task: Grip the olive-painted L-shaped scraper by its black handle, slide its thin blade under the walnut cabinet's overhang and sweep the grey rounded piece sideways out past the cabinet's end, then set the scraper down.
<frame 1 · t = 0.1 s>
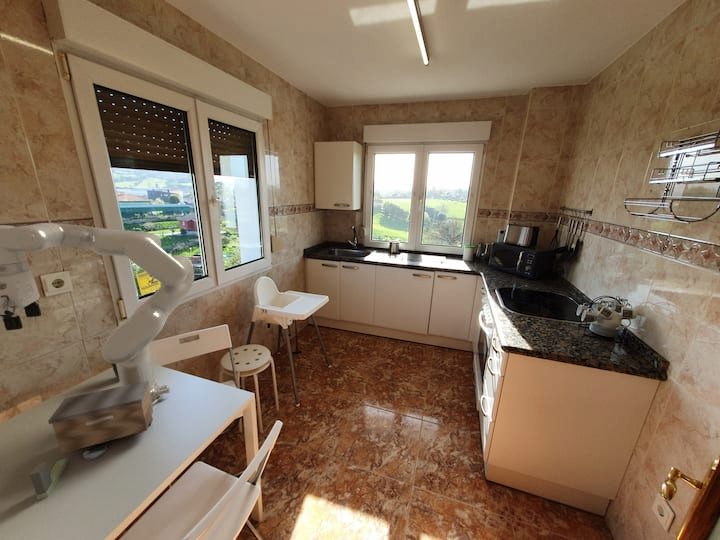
hand: (25, 322, 85), 37 cm above the table, tool pointing down, fingers open, 9 cm apart
scraper tool: (46, 493, 72), on the table
grey rounded piece: (95, 454, 83), on the table
beverage cup: (124, 377, 118), on the table
walnut cabinet: (113, 438, 89), on the table
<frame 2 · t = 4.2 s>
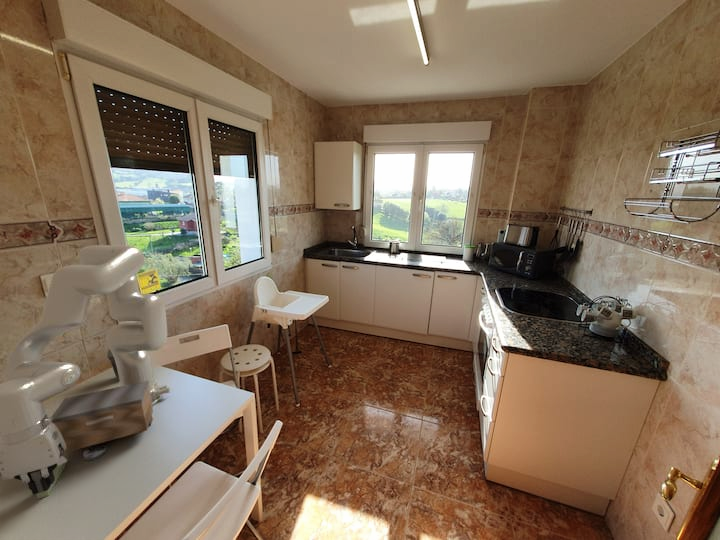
hand: (43, 487, 71), 2 cm above the table, tool pointing down, fingers closed on scraper tool, 1 cm apart
scraper tool: (46, 491, 72), on the table, touching gripper
everything else where it was.
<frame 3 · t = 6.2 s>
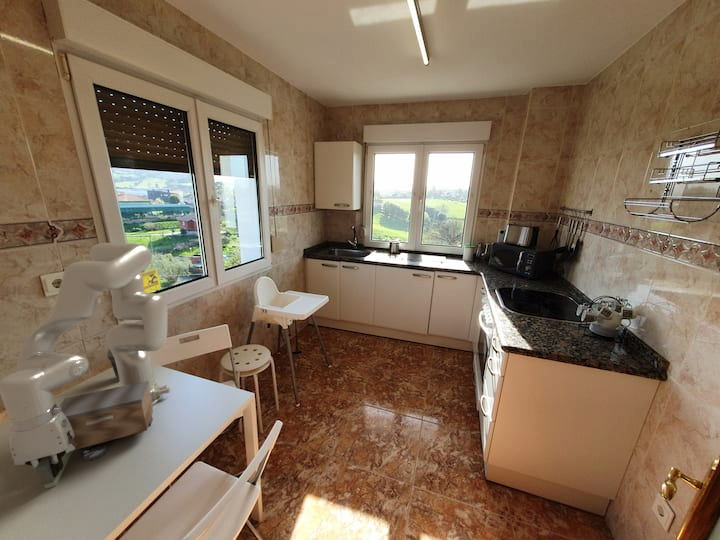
hand: (52, 473, 75), 2 cm above the table, tool pointing down, fingers closed on scraper tool, 1 cm apart
scraper tool: (54, 481, 75), on the table, tilted 9°, touching gripper, walnut cabinet
everything else where it was.
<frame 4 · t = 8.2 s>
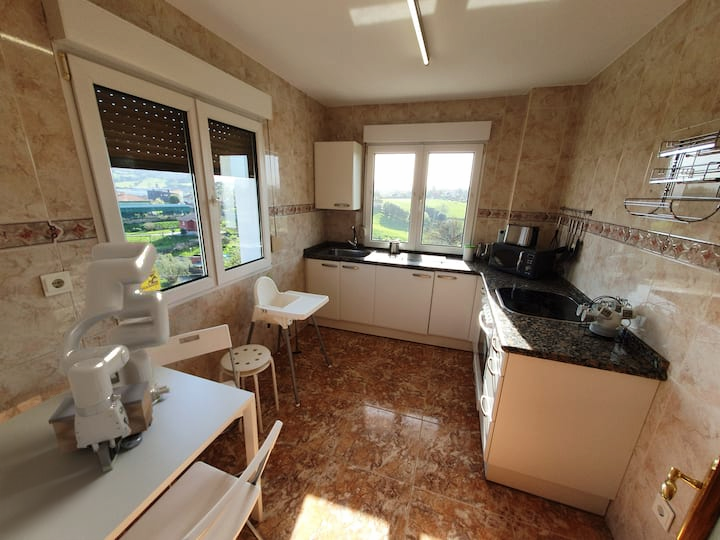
hand: (109, 456, 80), 2 cm above the table, tool pointing down, fingers closed on scraper tool, 1 cm apart
scraper tool: (109, 465, 80), on the table, tilted 9°, touching gripper
grey rounded piece: (132, 442, 87), on the table
everything else where it was.
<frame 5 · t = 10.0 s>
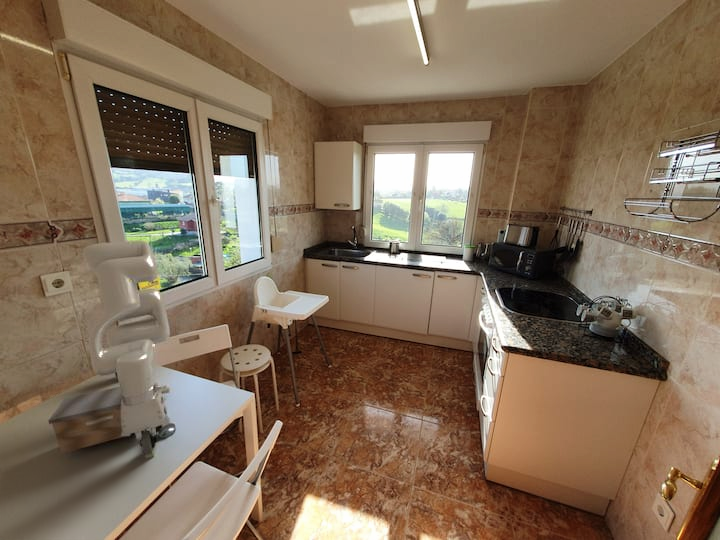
hand: (150, 445, 84), 2 cm above the table, tool pointing down, fingers closed on scraper tool, 1 cm apart
scraper tool: (150, 453, 84), on the table, tilted 11°, touching gripper
grey rounded piece: (166, 433, 91), on the table
everything else where it was.
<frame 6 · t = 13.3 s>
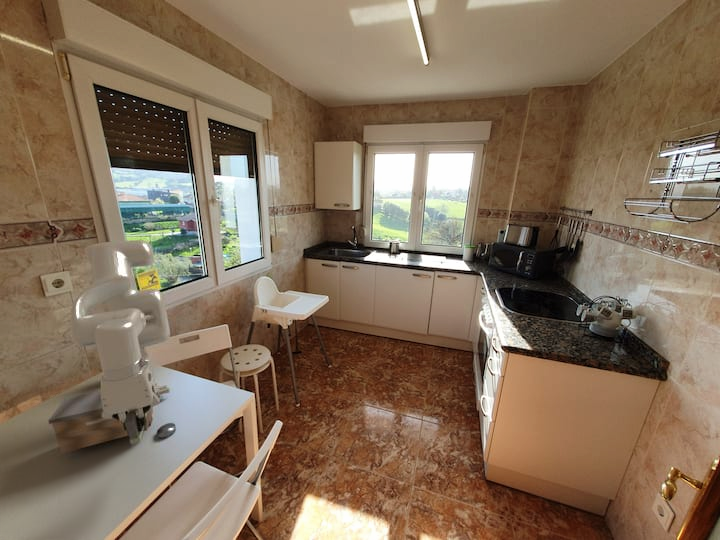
hand: (136, 428, 74), 16 cm above the table, tool pointing down, fingers closed on scraper tool, 1 cm apart
scraper tool: (137, 437, 74), point 13 cm above the table, tilted 12°, touching gripper
everything else where it was.
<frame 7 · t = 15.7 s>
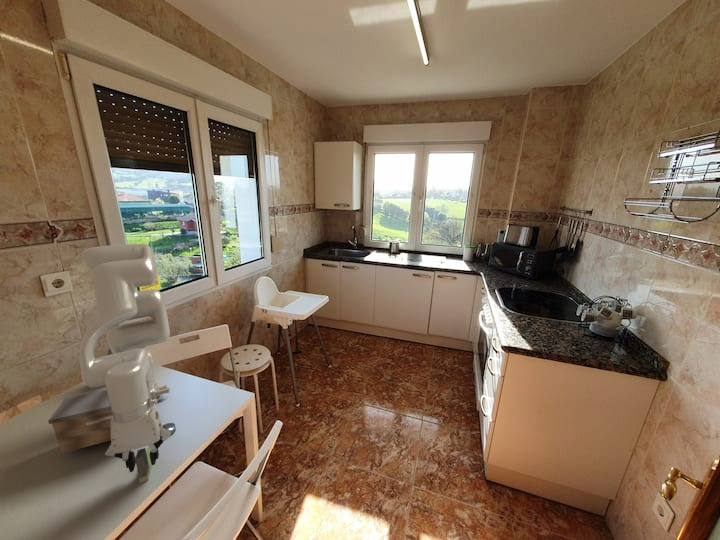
hand: (143, 463, 77), 4 cm above the table, tool pointing down, fingers open, 4 cm apart
scraper tool: (145, 476, 77), on the table
everything else where it was.
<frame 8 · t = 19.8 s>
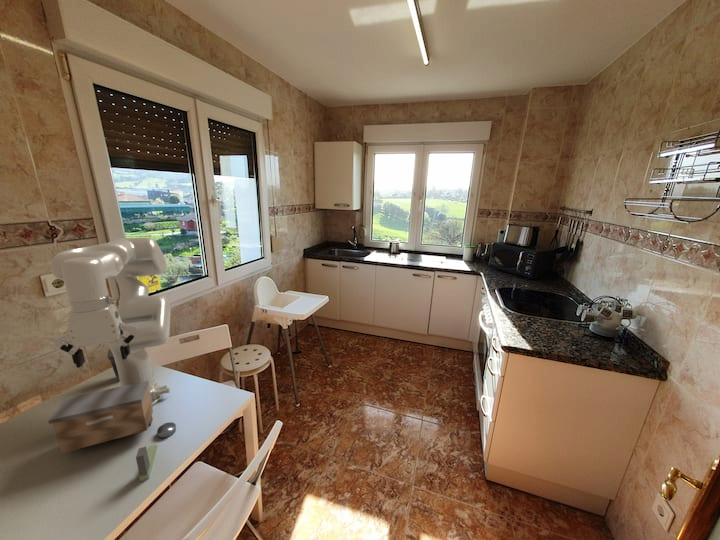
hand: (104, 360, 78), 30 cm above the table, tool pointing down, fingers open, 9 cm apart
nothing on the table moved.
at the end: grey rounded piece inside the target area (8.8 cm from its centre), on the table; grey rounded piece on the table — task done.
